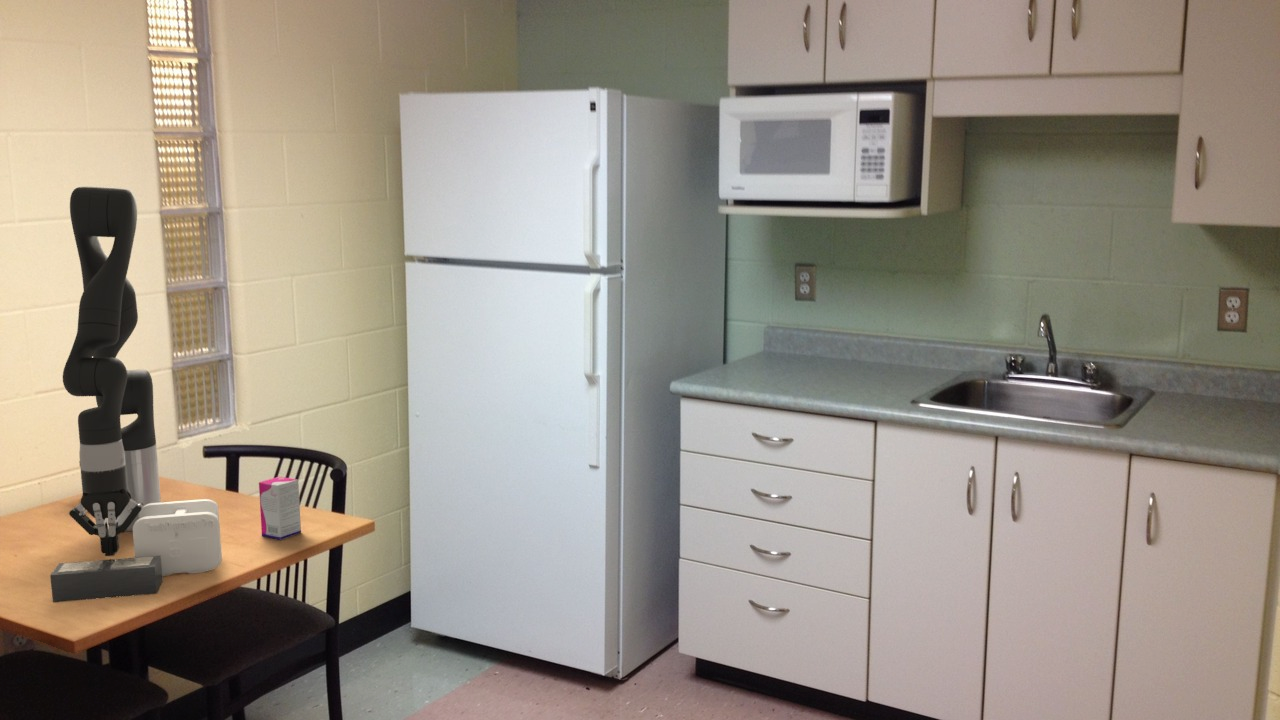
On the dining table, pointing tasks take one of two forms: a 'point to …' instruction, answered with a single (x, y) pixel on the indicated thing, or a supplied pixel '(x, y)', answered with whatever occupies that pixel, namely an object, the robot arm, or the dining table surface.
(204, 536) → the cable organizer
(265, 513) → the supplement box
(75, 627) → the dining table surface
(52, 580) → the block
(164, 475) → the dining table surface
